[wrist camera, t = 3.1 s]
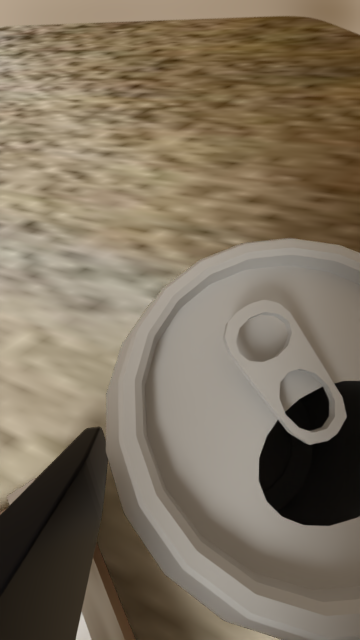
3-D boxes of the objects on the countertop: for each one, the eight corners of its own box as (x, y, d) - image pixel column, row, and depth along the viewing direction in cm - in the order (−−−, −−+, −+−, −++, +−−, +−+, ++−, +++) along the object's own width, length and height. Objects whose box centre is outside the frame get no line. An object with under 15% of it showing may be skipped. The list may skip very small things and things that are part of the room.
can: (214, 553, 14) (271, 957, 3) (135, 409, 16) (7, 325, 6) (339, 457, 15) (724, 473, 4) (247, 338, 18) (324, 153, 7)
